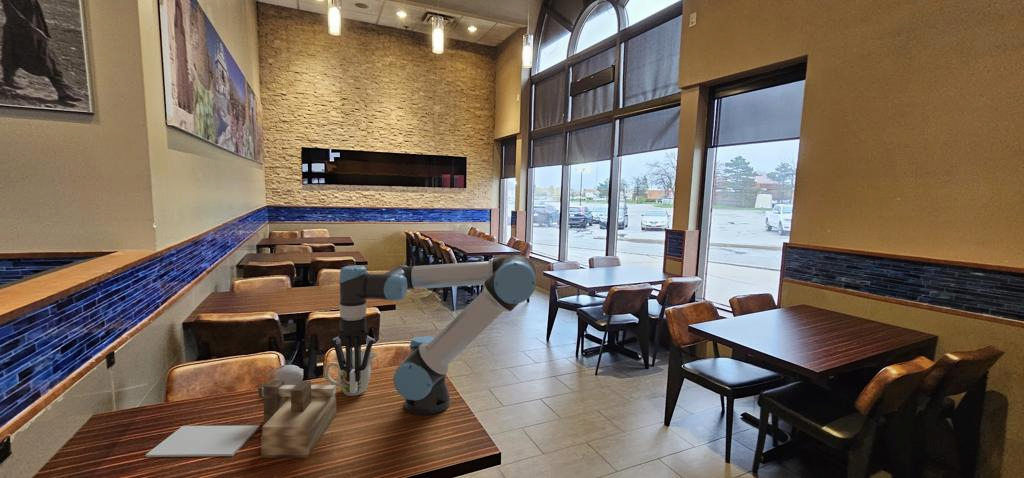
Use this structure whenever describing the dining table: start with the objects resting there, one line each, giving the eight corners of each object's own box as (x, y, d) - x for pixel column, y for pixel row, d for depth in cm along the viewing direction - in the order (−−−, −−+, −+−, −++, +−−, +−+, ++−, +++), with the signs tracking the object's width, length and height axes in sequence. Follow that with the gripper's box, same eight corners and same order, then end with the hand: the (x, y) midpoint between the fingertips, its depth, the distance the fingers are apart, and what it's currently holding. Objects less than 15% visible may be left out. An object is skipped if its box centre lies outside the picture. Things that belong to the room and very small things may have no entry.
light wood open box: (336, 414, 136) (335, 377, 135) (307, 457, 114) (307, 413, 113) (274, 415, 135) (273, 377, 133) (234, 458, 113) (232, 413, 111)
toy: (277, 393, 158) (267, 403, 144) (267, 371, 158) (257, 379, 144) (313, 376, 162) (307, 384, 148) (304, 354, 162) (297, 361, 148)
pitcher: (330, 385, 156) (329, 349, 155) (380, 384, 158) (380, 348, 157) (320, 399, 145) (319, 361, 144) (374, 398, 147) (374, 360, 146)
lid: (334, 397, 135) (334, 370, 134) (307, 435, 114) (306, 403, 113) (297, 397, 134) (296, 370, 133) (262, 435, 113) (261, 403, 112)
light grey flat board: (259, 427, 128) (259, 425, 127) (232, 456, 114) (232, 453, 114) (182, 427, 126) (182, 425, 126) (145, 456, 112) (145, 454, 112)
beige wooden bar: (336, 393, 133) (336, 383, 132) (332, 398, 129) (332, 388, 129) (264, 393, 131) (263, 383, 131) (258, 398, 128) (258, 388, 128)
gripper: (378, 313, 133) (378, 385, 135) (335, 313, 132) (336, 385, 135) (371, 320, 126) (372, 396, 128) (326, 320, 125) (327, 396, 127)
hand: (353, 391), depth 131 cm, fingers closed
